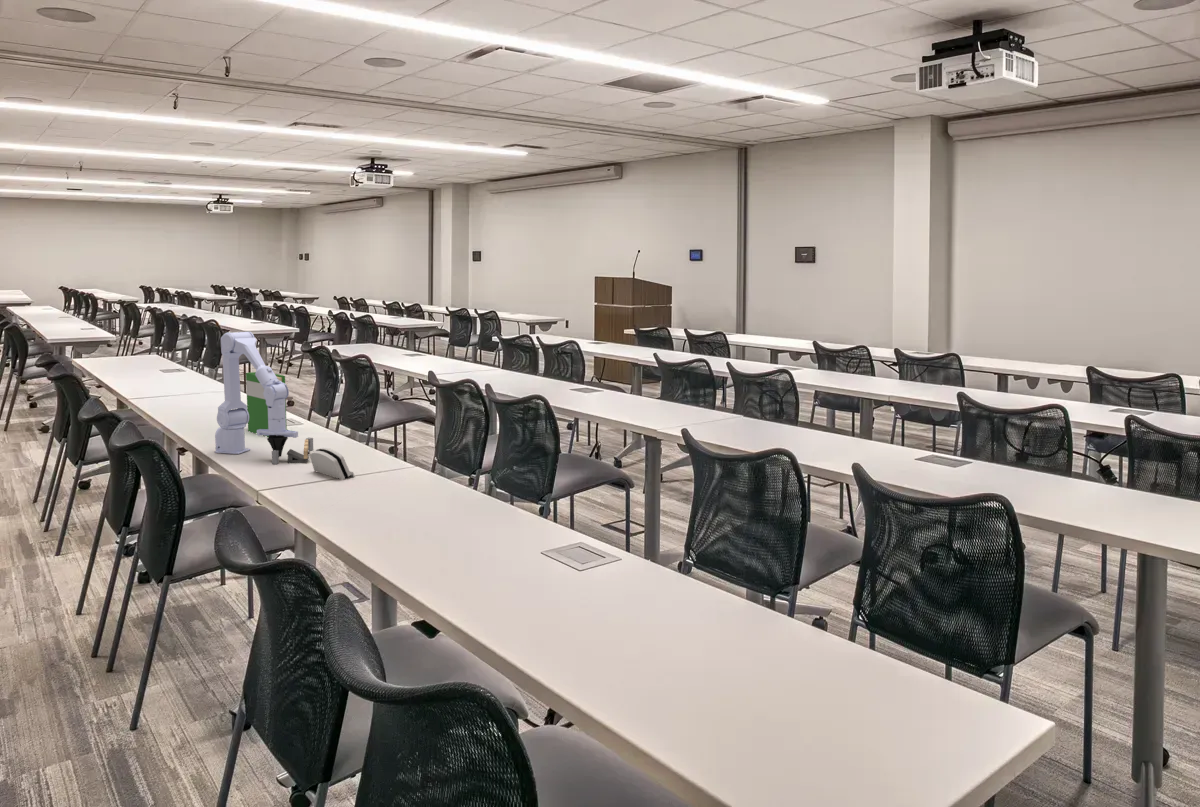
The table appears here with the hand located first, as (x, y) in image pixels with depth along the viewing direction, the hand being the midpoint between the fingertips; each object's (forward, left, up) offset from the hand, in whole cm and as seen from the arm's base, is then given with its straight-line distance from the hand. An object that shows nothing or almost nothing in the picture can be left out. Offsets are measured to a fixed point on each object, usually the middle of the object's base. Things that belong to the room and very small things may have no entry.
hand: (278, 456), depth 299 cm
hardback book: (-30, +43, -2) cm, 53 cm away
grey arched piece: (+27, -14, -2) cm, 30 cm away
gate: (+7, +8, 0) cm, 10 cm away
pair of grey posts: (+2, +7, -1) cm, 7 cm away
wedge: (+7, 0, -1) cm, 7 cm away
